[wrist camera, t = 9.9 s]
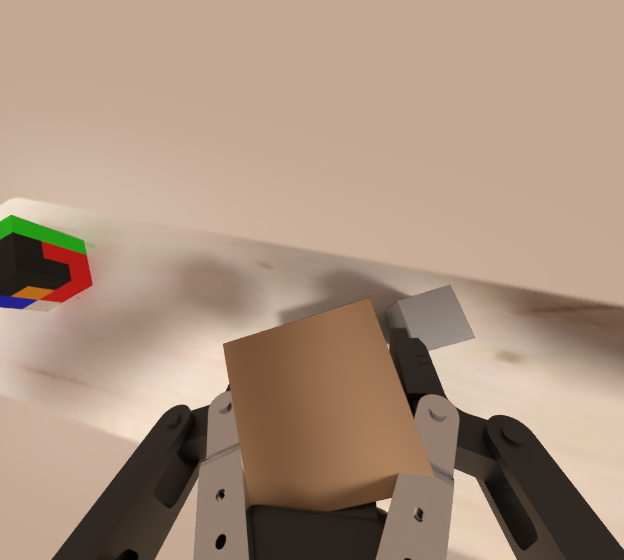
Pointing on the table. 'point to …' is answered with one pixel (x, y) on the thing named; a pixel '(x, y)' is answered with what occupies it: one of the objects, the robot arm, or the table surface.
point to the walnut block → (322, 412)
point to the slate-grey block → (432, 318)
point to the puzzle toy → (39, 266)
